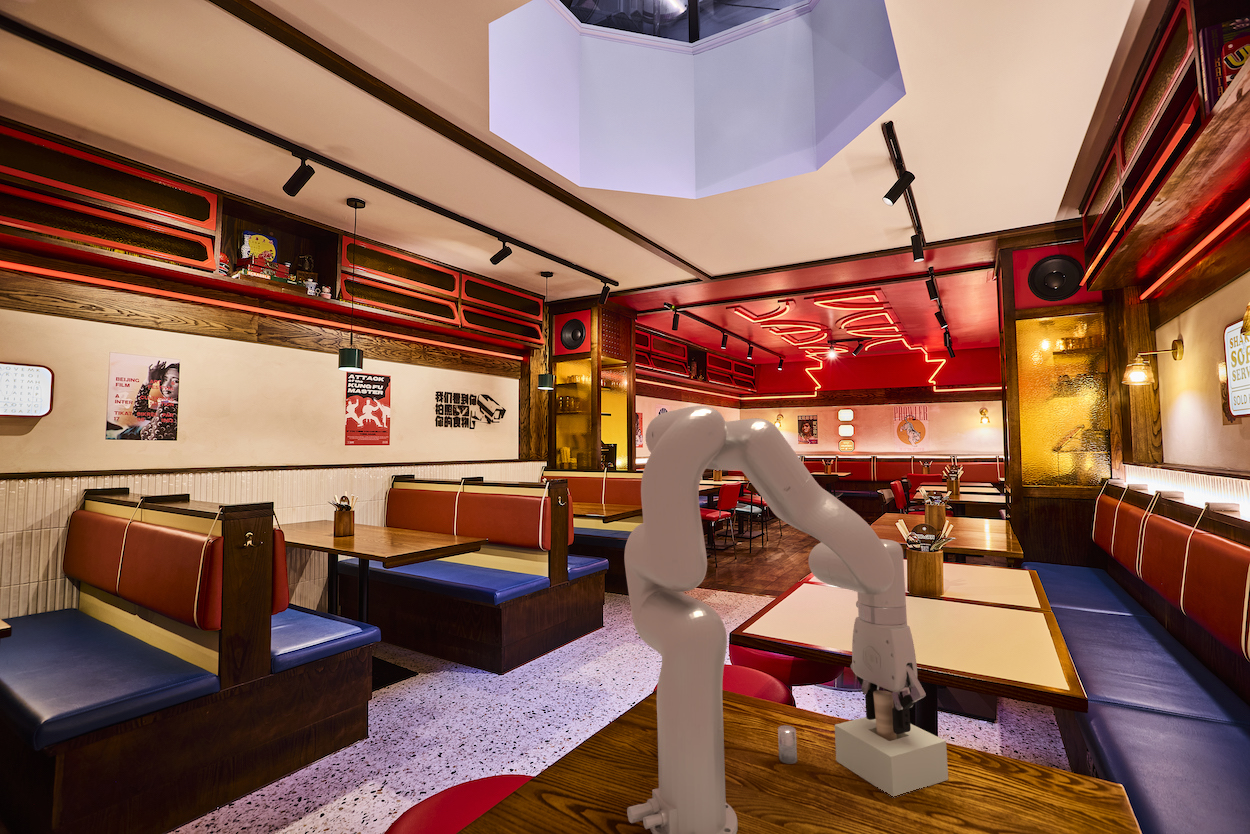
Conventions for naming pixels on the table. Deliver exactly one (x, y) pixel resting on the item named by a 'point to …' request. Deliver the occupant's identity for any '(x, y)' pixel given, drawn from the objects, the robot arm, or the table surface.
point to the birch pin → (884, 714)
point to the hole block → (891, 756)
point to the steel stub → (787, 744)
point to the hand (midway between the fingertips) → (887, 723)
